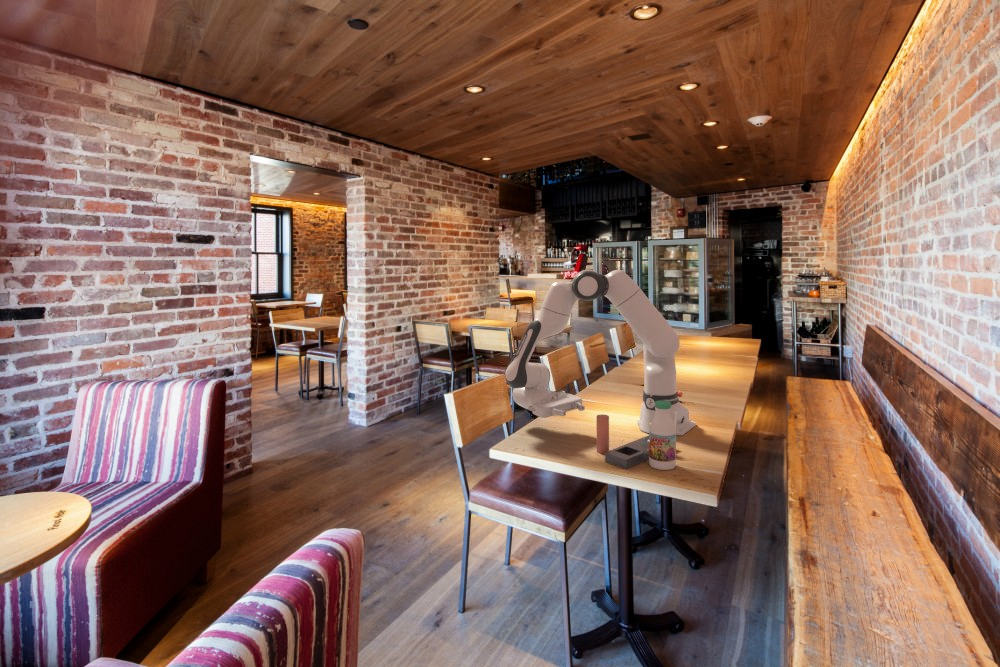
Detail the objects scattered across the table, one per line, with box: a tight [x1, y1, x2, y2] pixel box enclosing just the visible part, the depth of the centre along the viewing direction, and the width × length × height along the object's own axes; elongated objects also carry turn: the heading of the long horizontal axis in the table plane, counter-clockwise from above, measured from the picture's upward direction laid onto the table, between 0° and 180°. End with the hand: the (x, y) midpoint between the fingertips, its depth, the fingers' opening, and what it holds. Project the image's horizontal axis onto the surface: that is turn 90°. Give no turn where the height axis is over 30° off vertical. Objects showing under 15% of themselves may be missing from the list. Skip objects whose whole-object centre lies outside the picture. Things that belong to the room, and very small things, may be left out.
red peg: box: [596, 414, 610, 455], centre depth 161 cm, size 4×4×12 cm
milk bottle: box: [648, 400, 677, 471], centre depth 148 cm, size 8×8×20 cm
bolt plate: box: [604, 422, 651, 470], centre depth 157 cm, size 25×8×9 cm, turn 128°
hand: (574, 411), depth 170 cm, fingers open, 8 cm apart
